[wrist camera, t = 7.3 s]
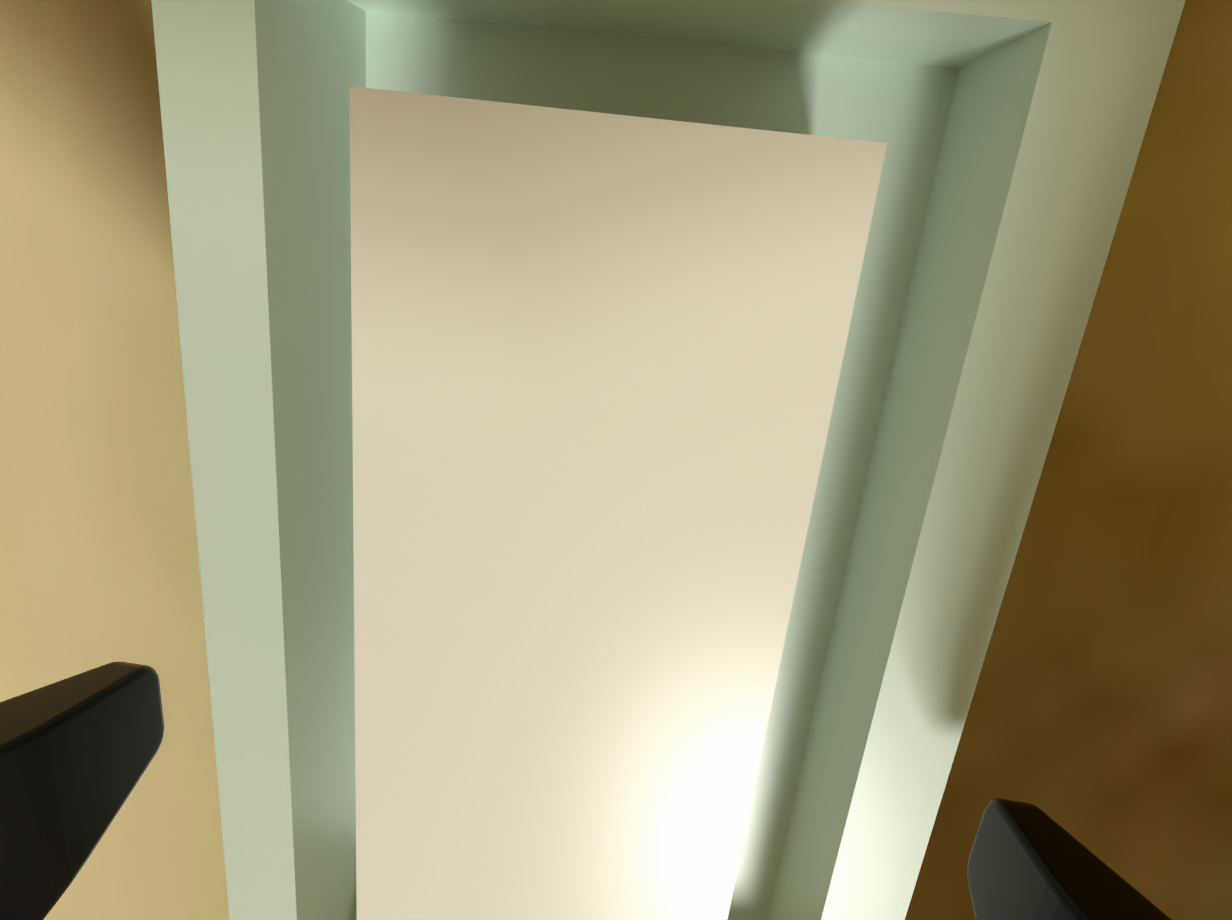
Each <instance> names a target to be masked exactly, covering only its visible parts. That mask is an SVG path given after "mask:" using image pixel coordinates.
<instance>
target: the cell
mask: <svg viewBox="0 0 1232 920" xmlns="http://www.w3.org/2000/svg"><path fill="white" fill-rule="evenodd" d="M349 91H350V206H351V321H352V437H353V552H354V667H355V782H356V898H357V920H727V919H728V914H729V909H730V905H731V900H732V895H733V890H734V885H735V880H736V875H737V871H738V866H739V861H740V856H741V851H742V846H743V842H744V837H745V832H746V827H747V822H748V817H749V812H750V808H751V803H752V798H753V793H754V788H755V783H756V778H757V774H758V769H759V764H760V759H761V754H762V749H763V745H764V740H765V735H766V730H767V725H768V720H769V715H770V711H771V706H772V701H773V696H774V691H775V686H776V681H777V677H778V672H779V667H780V662H781V657H782V652H783V648H784V643H785V638H786V633H787V628H788V623H789V618H790V614H791V609H792V604H793V599H794V594H795V589H796V584H797V580H798V575H799V570H800V565H801V560H802V555H803V551H804V546H805V541H806V536H807V531H808V526H809V521H810V517H811V512H812V507H813V502H814V497H815V492H816V487H817V483H818V478H819V473H820V468H821V463H822V458H823V454H824V449H825V444H826V439H827V434H828V429H829V424H830V420H831V415H832V410H833V405H834V400H835V395H836V390H837V386H838V381H839V376H840V371H841V366H842V361H843V357H844V352H845V347H846V342H847V337H848V332H849V327H850V323H851V318H852V313H853V308H854V303H855V298H856V294H857V289H858V284H859V279H860V274H861V269H862V264H863V260H864V255H865V250H866V245H867V240H868V235H869V230H870V226H871V221H872V216H873V211H874V206H875V201H876V197H877V192H878V187H879V182H880V177H881V172H882V167H883V163H884V158H885V153H886V148H887V143H882V142H872V141H863V140H853V139H844V138H835V137H825V136H816V135H806V134H797V133H787V132H778V131H768V130H759V129H750V128H740V127H731V126H721V125H712V124H702V123H693V122H683V121H674V120H665V119H655V118H646V117H636V116H627V115H617V114H608V113H598V112H589V111H580V110H570V109H561V108H551V107H542V106H532V105H523V104H513V103H504V102H495V101H485V100H476V99H466V98H457V97H447V96H438V95H428V94H419V93H410V92H400V91H391V90H381V89H372V88H362V87H353V86H349Z"/></svg>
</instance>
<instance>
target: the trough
mask: <svg viewBox="0 0 1232 920" xmlns="http://www.w3.org/2000/svg"><path fill="white" fill-rule="evenodd" d="M1185 1H1186V0H151V3H152V15H153V26H154V38H155V50H156V61H157V73H158V85H159V97H160V108H161V120H162V132H163V144H164V155H165V167H166V179H167V191H168V202H169V214H170V226H171V238H172V249H173V261H174V273H175V284H176V296H177V308H178V320H179V331H180V343H181V355H182V367H183V378H184V390H185V402H186V414H187V425H188V437H189V449H190V461H191V472H192V484H193V496H194V507H195V519H196V531H197V543H198V554H199V566H200V578H201V590H202V601H203V613H204V625H205V637H206V648H207V660H208V672H209V683H210V695H211V707H212V719H213V730H214V742H215V754H216V766H217V777H218V789H219V801H220V813H221V824H222V836H223V848H224V860H225V871H226V883H227V895H228V906H229V918H230V920H357V898H356V782H355V667H354V552H353V437H352V321H351V206H350V91H349V86H353V87H362V88H372V89H381V90H391V91H400V92H410V93H419V94H428V95H438V96H447V97H457V98H466V99H476V100H485V101H495V102H504V103H513V104H523V105H532V106H542V107H551V108H561V109H570V110H580V111H589V112H598V113H608V114H617V115H627V116H636V117H646V118H655V119H665V120H674V121H683V122H693V123H702V124H712V125H721V126H731V127H740V128H750V129H759V130H768V131H778V132H787V133H797V134H806V135H816V136H825V137H835V138H844V139H853V140H863V141H872V142H882V143H887V148H886V153H885V158H884V163H883V167H882V172H881V177H880V182H879V187H878V192H877V197H876V201H875V206H874V211H873V216H872V221H871V226H870V230H869V235H868V240H867V245H866V250H865V255H864V260H863V264H862V269H861V274H860V279H859V284H858V289H857V294H856V298H855V303H854V308H853V313H852V318H851V323H850V327H849V332H848V337H847V342H846V347H845V352H844V357H843V361H842V366H841V371H840V376H839V381H838V386H837V390H836V395H835V400H834V405H833V410H832V415H831V420H830V424H829V429H828V434H827V439H826V444H825V449H824V454H823V458H822V463H821V468H820V473H819V478H818V483H817V487H816V492H815V497H814V502H813V507H812V512H811V517H810V521H809V526H808V531H807V536H806V541H805V546H804V551H803V555H802V560H801V565H800V570H799V575H798V580H797V584H796V589H795V594H794V599H793V604H792V609H791V614H790V618H789V623H788V628H787V633H786V638H785V643H784V648H783V652H782V657H781V662H780V667H779V672H778V677H777V681H776V686H775V691H774V696H773V701H772V706H771V711H770V715H769V720H768V725H767V730H766V735H765V740H764V745H763V749H762V754H761V759H760V764H759V769H758V774H757V778H756V783H755V788H754V793H753V798H752V803H751V808H750V812H749V817H748V822H747V827H746V832H745V837H744V842H743V846H742V851H741V856H740V861H739V866H738V871H737V875H736V880H735V885H734V890H733V895H732V900H731V905H730V909H729V914H728V919H727V920H905V917H906V913H907V910H908V907H909V904H910V900H911V897H912V894H913V891H914V887H915V884H916V881H917V877H918V874H919V871H920V868H921V864H922V861H923V858H924V855H925V851H926V848H927V845H928V841H929V838H930V835H931V832H932V828H933V825H934V822H935V819H936V815H937V812H938V809H939V805H940V802H941V799H942V796H943V792H944V789H945V786H946V783H947V779H948V776H949V773H950V769H951V766H952V763H953V760H954V756H955V753H956V750H957V747H958V743H959V740H960V737H961V733H962V730H963V727H964V724H965V720H966V717H967V714H968V711H969V707H970V704H971V701H972V697H973V694H974V691H975V688H976V684H977V681H978V678H979V675H980V671H981V668H982V665H983V661H984V658H985V655H986V652H987V648H988V645H989V642H990V639H991V635H992V632H993V629H994V626H995V622H996V619H997V616H998V612H999V609H1000V606H1001V603H1002V599H1003V596H1004V593H1005V590H1006V586H1007V583H1008V580H1009V576H1010V573H1011V570H1012V567H1013V563H1014V560H1015V557H1016V554H1017V550H1018V547H1019V544H1020V540H1021V537H1022V534H1023V531H1024V527H1025V524H1026V521H1027V518H1028V514H1029V511H1030V508H1031V504H1032V501H1033V498H1034V495H1035V491H1036V488H1037V485H1038V482H1039V478H1040V475H1041V472H1042V468H1043V465H1044V462H1045V459H1046V455H1047V452H1048V449H1049V446H1050V442H1051V439H1052V436H1053V432H1054V429H1055V426H1056V423H1057V419H1058V416H1059V413H1060V410H1061V406H1062V403H1063V400H1064V397H1065V393H1066V390H1067V387H1068V383H1069V380H1070V377H1071V374H1072V370H1073V367H1074V364H1075V361H1076V357H1077V354H1078V351H1079V347H1080V344H1081V341H1082V338H1083V334H1084V331H1085V328H1086V325H1087V321H1088V318H1089V315H1090V311H1091V308H1092V305H1093V302H1094V298H1095V295H1096V292H1097V289H1098V285H1099V282H1100V279H1101V275H1102V272H1103V269H1104V266H1105V262H1106V259H1107V256H1108V253H1109V249H1110V246H1111V243H1112V239H1113V236H1114V233H1115V230H1116V226H1117V223H1118V220H1119V217H1120V213H1121V210H1122V207H1123V203H1124V200H1125V197H1126V194H1127V190H1128V187H1129V184H1130V181H1131V177H1132V174H1133V171H1134V168H1135V164H1136V161H1137V158H1138V154H1139V151H1140V148H1141V145H1142V141H1143V138H1144V135H1145V132H1146V128H1147V125H1148V122H1149V118H1150V115H1151V112H1152V109H1153V105H1154V102H1155V99H1156V96H1157V92H1158V89H1159V86H1160V82H1161V79H1162V76H1163V73H1164V69H1165V66H1166V63H1167V60H1168V56H1169V53H1170V50H1171V46H1172V43H1173V40H1174V37H1175V33H1176V30H1177V27H1178V24H1179V20H1180V17H1181V14H1182V10H1183V7H1184V4H1185Z"/></svg>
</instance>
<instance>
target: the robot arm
mask: <svg viewBox="0 0 1232 920" xmlns="http://www.w3.org/2000/svg"><path fill="white" fill-rule="evenodd" d="M163 733H164V721H163V712H162V703H161V694H160V685H159V678H158V674H157V673H156V671H155V670H154V669H153V668H151V667H150V666H146V665H140V664H133V663H127V662H112V663H109V664H106V665H103V666H100V667H98V668H95V669H92V670H89V671H86V672H84V673H81V674H78V675H75V676H73V677H70V678H67V679H64V680H61V681H59V682H56V683H53V684H50V685H47V686H45V687H42V688H39V689H36V690H33V691H31V692H28V693H25V694H22V695H19V696H17V697H14V698H11V699H8V700H6V701H3V702H0V920H43V919H44V918H45V917H46V915H47V914H48V913H49V911H50V910H51V909H52V908H53V906H54V905H55V904H56V902H57V901H58V900H59V898H60V897H61V896H62V894H63V893H64V892H65V890H66V889H67V888H68V886H69V885H70V884H71V882H72V881H73V879H74V878H75V877H76V875H77V874H78V872H79V871H80V869H81V868H82V866H83V865H84V863H85V862H86V861H87V859H88V858H89V856H90V855H91V853H92V851H93V850H94V848H95V847H96V845H97V844H98V842H99V841H100V839H101V838H102V836H103V834H104V833H105V831H106V830H107V828H108V827H109V825H110V824H111V822H112V821H113V819H114V817H115V816H116V814H117V813H118V811H119V810H120V808H121V807H122V805H123V804H124V802H125V801H126V799H127V797H128V796H129V794H130V793H131V791H132V790H133V788H134V787H135V785H136V784H137V782H138V780H139V779H140V777H141V776H142V774H143V773H144V771H145V770H146V768H147V767H148V765H149V763H150V762H151V760H152V759H153V757H154V756H155V754H156V752H157V751H158V749H159V747H160V744H161V742H162V738H163ZM968 883H969V889H970V894H971V898H972V903H973V908H974V913H975V917H976V920H1171V919H1170V918H1169V917H1168V916H1166V915H1165V914H1164V913H1163V912H1162V911H1161V910H1159V909H1158V908H1157V907H1156V906H1155V905H1153V904H1152V903H1151V902H1150V901H1149V900H1147V899H1146V898H1145V897H1144V896H1143V895H1142V894H1140V893H1139V892H1138V891H1137V890H1136V889H1134V888H1133V887H1132V886H1131V885H1130V884H1128V883H1127V882H1126V881H1125V880H1124V879H1123V878H1121V877H1120V876H1119V875H1118V874H1117V873H1115V872H1114V871H1113V870H1112V869H1111V868H1110V867H1108V866H1107V865H1106V864H1105V863H1104V862H1102V861H1101V860H1100V859H1099V858H1098V857H1096V856H1095V855H1094V854H1093V853H1092V852H1091V851H1089V850H1088V849H1087V848H1086V847H1085V846H1083V845H1082V844H1081V843H1080V842H1079V841H1077V840H1076V839H1075V838H1074V837H1073V836H1072V835H1070V834H1069V833H1068V832H1067V831H1066V830H1064V829H1063V828H1062V827H1061V826H1060V825H1058V824H1057V823H1056V822H1055V821H1054V820H1053V819H1051V818H1050V817H1049V816H1048V815H1047V814H1045V813H1044V812H1043V811H1042V810H1041V809H1039V808H1038V807H1037V806H1035V805H1032V804H1029V803H1024V802H1018V801H1011V800H1005V799H994V800H992V801H990V802H989V803H988V805H987V806H986V808H985V810H984V814H983V817H982V820H981V823H980V826H979V829H978V832H977V835H976V838H975V841H974V844H973V847H972V850H971V853H970V856H969V860H968Z"/></svg>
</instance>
